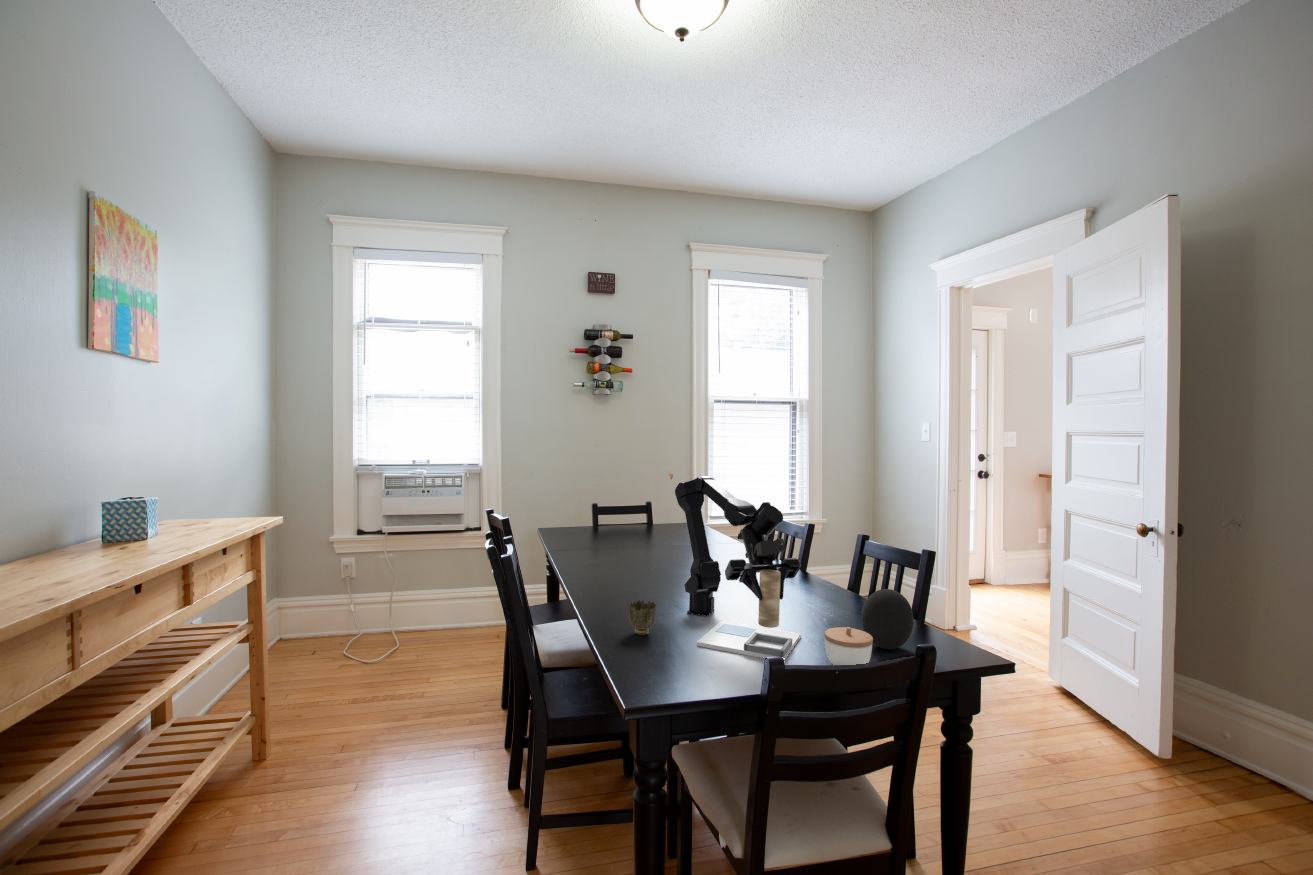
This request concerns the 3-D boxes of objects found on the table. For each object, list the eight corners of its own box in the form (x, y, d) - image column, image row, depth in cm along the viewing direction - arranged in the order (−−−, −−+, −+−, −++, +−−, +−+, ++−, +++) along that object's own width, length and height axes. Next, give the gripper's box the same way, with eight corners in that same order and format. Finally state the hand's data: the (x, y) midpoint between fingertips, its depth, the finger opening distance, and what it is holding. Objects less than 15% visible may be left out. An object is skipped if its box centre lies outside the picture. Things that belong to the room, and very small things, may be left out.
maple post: (755, 625, 148) (757, 572, 148) (761, 619, 153) (763, 568, 152) (776, 628, 146) (777, 575, 146) (781, 622, 150) (782, 570, 150)
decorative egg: (868, 636, 162) (870, 580, 162) (917, 646, 155) (919, 588, 155) (854, 649, 152) (856, 590, 152) (906, 661, 145) (908, 599, 145)
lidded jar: (836, 678, 134) (837, 636, 134) (815, 659, 145) (816, 620, 145) (881, 676, 136) (882, 634, 136) (857, 657, 147) (858, 619, 146)
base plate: (696, 645, 152) (696, 635, 152) (721, 624, 169) (722, 615, 169) (783, 662, 143) (783, 651, 143) (800, 637, 160) (800, 628, 160)
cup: (659, 631, 162) (660, 601, 162) (650, 640, 155) (651, 609, 155) (633, 627, 165) (634, 598, 164) (623, 636, 158) (624, 605, 158)
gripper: (729, 527, 151) (744, 583, 140) (799, 526, 155) (818, 580, 144) (719, 552, 158) (732, 606, 148) (785, 550, 163) (802, 603, 152)
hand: (771, 599), depth 148 cm, fingers closed on maple post, 5 cm apart
